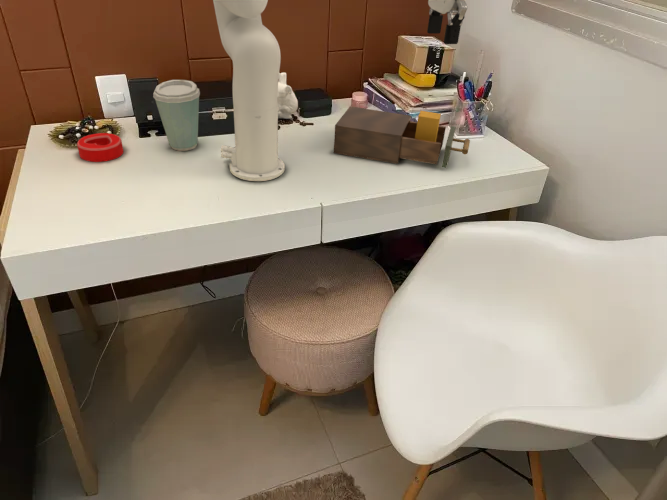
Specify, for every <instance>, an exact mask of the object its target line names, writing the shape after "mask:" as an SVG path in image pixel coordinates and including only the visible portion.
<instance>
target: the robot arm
mask: <svg viewBox="0 0 667 500" xmlns="http://www.w3.org/2000/svg"><path fill="white" fill-rule="evenodd" d="M268 1H269V0H212V2H213V8H214V13H215V19H216V23H217V28H218V32H219V37H220V41H221V45H222V47H223V49H224V51H225V52H226V54H227V55H228V56H229V58H230V59H231V60H232V68H233V69H232V84H231V85H232V87H231V89H232V90H231V91H232V105H233V107H232V109H233V125H234V126H233V127H234V128H233V129H234V144H235V145H234V146H229V145H225V144H222V145H221V147H220V156H221V158H222V159H223V158H224V159H229V160H231V161H230V163H229V172H230V174H232V175H233V176H234V177H235V178H238V179H240V180H243V181H249V182H266V181H271V180H274V179H276V178H278V177H280V176H282V175H283V174H284V173H285V170H286V169H285V167H286V166H285V165H286V164H285V162H284V161H283V160H282V159H281V158H279V118H278V81H279V79H278V78H279V73H280V69H281V62H282V61H281V60H282V57H281V55H282V54H281V49H280V48H281V47H280V45H279V42H278V40H277V38H276V36H275V35H274V34H273V32H272V31H271V30H270V29H268V27H266V26H265V25H264V24H263V21H262V14H263V12H264V11H265V9H266V7H267V5H268ZM427 4H428V6H429V11H428V13H429V14H428V15H429V17H428V24H427V30H426V31H427V34H430V35H431V34H433V35H435V34H441V31H442V24H443V20H444V15H445V14H446V15H447V22H448V23H447V24H446V26H445V32H444V39H443V43H444V44H445V45H457V44H458V43H459V39H460V33H461V26H462V25H463V21H464V19H465V18H466V17H465V16H466V13H467V10H468V4H467V0H428V1H427Z"/></svg>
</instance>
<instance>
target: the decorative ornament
mask: <svg viewBox="0 0 667 500" xmlns="http://www.w3.org/2000/svg"><path fill="white" fill-rule="evenodd" d="M76 146H77V150H78V151H77V152H78V156H79V157H80V159H81V160H83V161H87V162H90V163H91V162H92V163H101V162H108V161H109V162H110V161H113V160H116V159H118V158H120V157H121V156H122V155H123V154H124V146H123V140H122V138H121V137H120V136H119V135H117V134H114V133H109V132H99V133H98V132H97V133H93V134H88V135H85V136H83V137H81V138H80V139H78V141H77V142H76Z"/></svg>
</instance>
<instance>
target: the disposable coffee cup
mask: <svg viewBox="0 0 667 500" xmlns="http://www.w3.org/2000/svg"><path fill="white" fill-rule="evenodd" d="M152 95H153V96H152V98H153V99H154V101H155V104H156V107H157V110H158V113H159V117H160V119H161V122H162V126H163V129H164V132H165V135H166V138H167V142H168V145H169V146H170V148H171V149H172V150H174V151H178V152H186V151H190V150H193V149H195V148H197V145H198V142H199V116H200V115H199V113H200V111H199V110H200V96H201V91H200V88H198V86H197V84H196V83H195V82H193V81H192V80H187V79H169V80H167V81H163V82H161V83H159V84H158V85H156V87H155V89H154V91H153V94H152Z"/></svg>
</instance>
